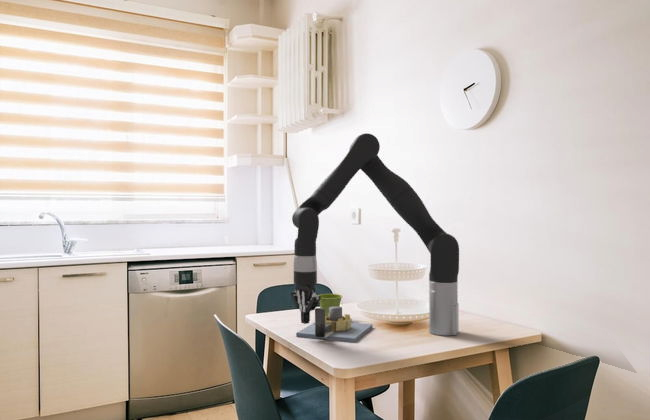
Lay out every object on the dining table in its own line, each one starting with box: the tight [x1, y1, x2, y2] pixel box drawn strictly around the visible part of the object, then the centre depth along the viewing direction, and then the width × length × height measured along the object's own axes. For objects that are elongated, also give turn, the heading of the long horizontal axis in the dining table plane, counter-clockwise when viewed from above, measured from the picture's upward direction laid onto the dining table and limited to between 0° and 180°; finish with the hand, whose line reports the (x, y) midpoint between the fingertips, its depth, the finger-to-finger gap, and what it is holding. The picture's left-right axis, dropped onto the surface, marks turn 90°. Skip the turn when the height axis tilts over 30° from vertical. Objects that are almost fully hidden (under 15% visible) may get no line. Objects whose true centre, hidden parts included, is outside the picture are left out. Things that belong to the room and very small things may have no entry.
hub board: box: [295, 306, 374, 343], centre depth 163 cm, size 20×22×8 cm
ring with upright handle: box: [314, 307, 352, 337], centre depth 160 cm, size 19×10×8 cm, turn 155°
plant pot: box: [317, 293, 343, 316], centre depth 184 cm, size 9×9×9 cm
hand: (305, 323), depth 157 cm, fingers closed
